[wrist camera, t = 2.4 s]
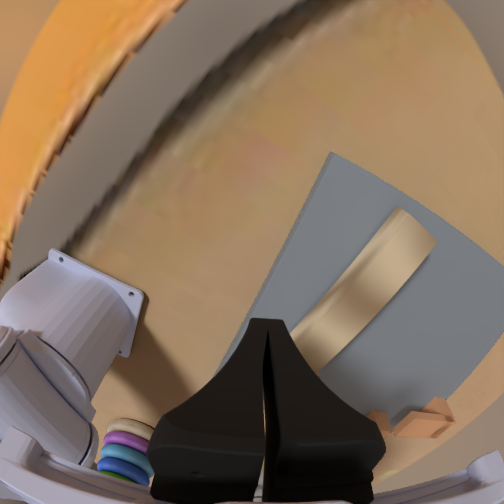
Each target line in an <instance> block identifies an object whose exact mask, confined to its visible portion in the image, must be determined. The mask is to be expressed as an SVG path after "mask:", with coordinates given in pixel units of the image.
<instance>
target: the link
mask: <svg viewBox="0 0 504 504" xmlns="http://www.w3.org/2000/svg"><path fill="white" fill-rule="evenodd" d="M437 242H438V241H437V240H436V239H435V238H434V237H433V236H432V235H431V234H430V233H429V232H428V231H427V230H426V229H425V228H424V227H423V226H422V225H421V224H420V223H419V222H418V221H417V220H416V219H415V218H413V217H412V216H411V215H410V214H409V213H407V212H406V211H404V210H403V209H401V208H400V207H398V206H397V207H396V208H395V209H394V211H393V212H392V213H391V215H390V216H389V217H388V218H387V220H386V221H385V222H384V224H383V225H382V226H381V228H380V229H379V230H378V231H377V233H376V234H375V235H374V236H373V238H372V239H371V240H370V242H369V243H368V244H367V245H366V247H365V248H364V249H363V250H362V251H361V253H360V254H359V255H358V256H357V258H356V259H355V260H354V261H353V262H352V264H351V265H350V266H349V267H348V268H347V270H346V271H345V272H344V273H343V274H342V276H341V277H340V278H339V279H338V280H337V281H336V283H335V284H334V285H333V286H332V287H331V288H330V289H329V291H328V292H327V293H326V294H325V295H324V296H323V297H322V299H321V300H320V301H319V302H318V303H317V304H316V305H315V306H314V308H313V309H312V310H311V311H310V312H309V313H308V314H307V315H306V316H305V318H304V319H303V320H302V321H301V322H300V323H299V324H298V325H297V326H296V327H295V328H294V329H293V330H292V332H291V333H290V336H291V337H292V339H293V341H294V343H295V345H296V346H297V348H298V350H299V351H300V353H301V354H302V356H303V357H304V359H305V360H306V362H307V363H308V364H309V366H310V367H311V368H312V370H313V371H314V372H315V374H316V375H317V376H318V377H319V378H320V374H319V370H320V369H321V368H322V367H324V366H325V365H326V364H327V363H328V362H329V361H330V360H331V359H332V358H333V357H334V356H335V355H336V354H337V353H339V352H340V351H341V350H342V349H343V348H344V347H345V346H346V345H347V344H348V343H349V342H350V341H351V340H352V339H353V338H354V337H355V336H356V335H357V334H358V333H359V332H360V331H361V330H362V329H363V328H364V327H365V326H366V325H367V324H368V323H369V322H370V321H371V320H372V318H373V317H374V316H375V315H376V314H377V313H378V312H379V311H380V310H381V309H382V308H383V307H384V306H385V305H386V303H387V302H388V301H389V300H390V299H391V298H392V297H393V296H394V294H395V293H396V292H397V291H398V290H399V289H400V288H401V287H402V285H403V284H404V283H405V282H406V281H407V279H408V278H409V277H410V276H411V275H412V274H413V272H414V271H415V270H416V269H417V268H418V266H419V265H420V264H421V263H422V261H423V260H424V259H425V258H426V256H427V255H428V254H429V253H430V251H431V250H432V249H433V247H434V246H435V245H436V243H437ZM263 409H265V407H264V400H263Z"/></svg>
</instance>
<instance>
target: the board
mask: <svg viewBox="0 0 504 504" xmlns="http://www.w3.org/2000/svg"><path fill="white" fill-rule="evenodd" d="M397 206H398V207H400V208H401V209H403V210H404V211H406V212H407V213H409V214H410V215H411V216H412V217H413V218H415V219H416V220H417V221H418V222H419V223H420V224H421V225H422V226H423V227H424V228H425V229H426V230H427V231H428V232H429V233H430V234H431V235H432V236H433V237H434V238H435V239H436V240H437V241H438V242H437V243H436V245H435V246H434V247H433V249H432V250H431V251H430V253H429V254H428V255H427V256H426V258H425V259H424V260H423V261H422V263H421V264H420V265H419V266H418V268H417V269H416V270H415V271H414V272H413V274H412V275H411V276H410V277H409V278H408V279H407V281H406V282H405V283H404V284H403V285H402V287H401V288H400V289H399V290H398V291H397V292H396V293H395V294H394V296H393V297H392V298H391V299H390V300H389V301H388V302H387V303H386V305H385V306H384V307H383V308H382V309H381V310H380V311H379V312H378V313H377V314H376V315H375V316H374V317H373V318H372V320H371V321H370V322H369V323H368V324H367V325H366V326H365V327H364V328H363V329H362V330H361V331H360V332H359V333H358V334H357V335H356V336H355V337H354V338H353V339H352V340H351V341H350V342H349V343H348V344H347V345H346V346H345V347H344V348H343V349H342V350H341V351H340V352H339V353H337V354H336V355H335V356H334V357H333V358H332V359H331V360H330V361H329V362H328V363H327V364H326V365H325V366H324V367H322V368H321V369H320V370H319V374H320V379H321V380H322V382H323V383H324V384H325V385H326V386H327V387H328V388H329V389H330V390H331V391H332V392H334V393H335V394H336V395H337V396H338V397H339V398H340V399H342V400H343V401H344V402H345V403H347V404H348V405H349V406H351V407H352V408H353V409H355V410H356V411H358V412H359V413H361V414H363V415H364V416H367V415H368V414H369V413H370V412H371V411H372V410H376V411H382V412H386V414H387V417H388V420H389V423H390V426H391V429H392V430H393V428H394V427H395V426H396V425H397V424H398V423H399V422H400V421H402V420H403V419H404V418H405V417H406V416H407V415H408V414H409V413H410V412H411V411H416V412H420V411H421V410H422V409H423V408H424V407H425V406H426V405H427V404H428V403H430V402H431V401H432V400H433V399H434V398H435V397H438V398H444V399H445V400H447V399H448V397H449V396H450V395H451V394H452V393H453V392H454V391H455V390H456V389H457V388H458V387H459V386H460V385H461V384H462V383H463V382H464V380H465V379H466V378H467V377H468V376H469V375H470V374H471V373H472V371H473V370H474V369H475V368H476V367H477V366H478V364H479V363H480V362H481V361H482V360H483V358H484V357H485V356H486V355H487V353H488V352H489V351H490V350H491V348H492V347H493V346H494V344H495V343H496V342H497V340H498V339H499V338H500V336H501V335H502V334H503V332H504V266H502V265H501V264H500V263H499V262H498V261H497V260H495V259H494V258H493V257H492V256H491V255H489V254H488V253H487V252H486V251H484V250H483V249H482V248H481V247H479V246H478V245H477V244H476V243H474V242H473V241H472V240H471V239H469V238H468V237H467V236H465V235H464V234H463V233H461V232H460V231H459V230H457V229H456V228H455V227H453V226H452V225H450V224H449V223H448V222H446V221H445V220H443V219H442V218H441V217H439V216H438V215H436V214H435V213H433V212H432V211H430V210H429V209H428V208H426V207H425V206H423V205H422V204H420V203H419V202H417V201H416V200H414V199H412V198H411V197H409V196H408V195H406V194H405V193H403V192H401V191H400V190H398V189H397V188H395V187H393V186H392V185H390V184H389V183H387V182H385V181H384V180H382V179H380V178H378V177H377V176H375V175H373V174H372V173H370V172H368V171H366V170H365V169H363V168H361V167H359V166H358V165H356V164H354V163H352V162H350V161H348V160H347V159H345V158H343V157H341V156H339V155H337V154H335V153H333V152H330V153H329V155H328V157H327V159H326V161H325V163H324V165H323V167H322V169H321V171H320V173H319V175H318V177H317V179H316V181H315V183H314V186H313V188H312V190H311V192H310V194H309V196H308V198H307V200H306V202H305V204H304V206H303V208H302V210H301V212H300V214H299V216H298V217H297V219H296V221H295V223H294V225H293V227H292V229H291V231H290V233H289V235H288V237H287V239H286V241H285V243H284V245H283V247H282V249H281V251H280V253H279V255H278V257H277V259H276V261H275V262H274V264H273V266H272V268H271V270H270V272H269V274H268V276H267V278H266V280H265V282H264V284H263V285H262V287H261V289H260V291H259V293H258V295H257V297H256V299H255V301H254V303H253V304H252V306H251V308H250V310H249V312H248V314H247V316H246V318H245V319H244V321H243V323H242V325H241V327H240V329H239V331H238V333H237V334H236V336H235V338H234V340H233V342H232V344H231V345H230V347H229V349H228V351H227V353H226V355H225V357H224V358H223V360H222V362H221V364H220V366H219V367H218V369H217V371H216V373H215V375H216V374H217V373H218V372H219V371H220V370H221V368H222V367H223V366H224V365H225V363H226V362H227V361H228V360H229V358H230V357H231V355H232V354H233V352H234V351H235V350H236V348H237V346H238V345H239V343H240V341H241V339H242V338H243V336H244V334H245V332H246V329H247V327H248V324H249V320H250V319H251V318H267V319H282V320H283V321H284V322H285V325H286V327H287V329H288V332H289V334H290V333H291V332H292V330H293V329H294V328H295V327H296V326H297V325H298V324H299V323H300V322H301V321H302V320H303V319H304V318H305V316H306V315H307V314H308V313H309V312H310V311H311V310H312V309H313V308H314V306H315V305H316V304H317V303H318V302H319V301H320V300H321V299H322V297H323V296H324V295H325V294H326V293H327V292H328V291H329V289H330V288H331V287H332V286H333V285H334V284H335V283H336V281H337V280H338V279H339V278H340V277H341V276H342V274H343V273H344V272H345V271H346V270H347V268H348V267H349V266H350V265H351V264H352V262H353V261H354V260H355V259H356V258H357V256H358V255H359V254H360V253H361V251H362V250H363V249H364V248H365V247H366V245H367V244H368V243H369V242H370V240H371V239H372V238H373V236H374V235H375V234H376V233H377V231H378V230H379V229H380V228H381V226H382V225H383V224H384V222H385V221H386V220H387V218H388V217H389V216H390V215H391V213H392V212H393V211H394V209H395V208H396V207H397ZM215 375H214V376H215Z"/></svg>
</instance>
